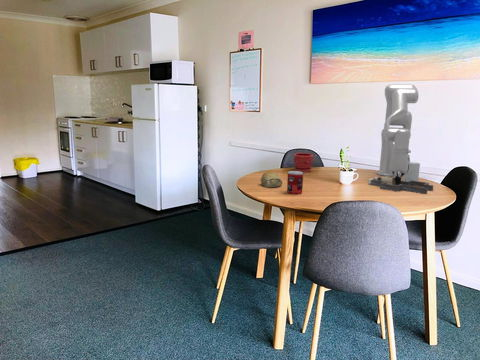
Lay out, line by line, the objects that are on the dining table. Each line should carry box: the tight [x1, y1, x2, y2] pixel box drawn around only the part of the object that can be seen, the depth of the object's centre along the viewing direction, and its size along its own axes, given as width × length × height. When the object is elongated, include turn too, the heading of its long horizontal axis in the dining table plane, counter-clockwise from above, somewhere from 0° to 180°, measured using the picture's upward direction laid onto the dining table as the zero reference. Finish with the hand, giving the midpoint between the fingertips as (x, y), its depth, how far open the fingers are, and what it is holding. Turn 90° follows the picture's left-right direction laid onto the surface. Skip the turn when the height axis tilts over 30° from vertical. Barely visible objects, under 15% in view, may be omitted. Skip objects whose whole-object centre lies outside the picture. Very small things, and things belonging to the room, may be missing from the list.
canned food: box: [286, 170, 304, 195], centre depth 195 cm, size 8×8×11 cm
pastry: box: [260, 171, 283, 189], centre depth 212 cm, size 14×12×8 cm
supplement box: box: [402, 161, 421, 182], centre depth 226 cm, size 7×7×13 cm
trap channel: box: [368, 176, 434, 195], centre depth 213 cm, size 22×32×3 cm
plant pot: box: [293, 152, 314, 173], centre depth 259 cm, size 13×13×12 cm
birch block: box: [380, 176, 395, 185], centre depth 217 cm, size 6×6×5 cm
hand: (397, 183), depth 213 cm, fingers closed
